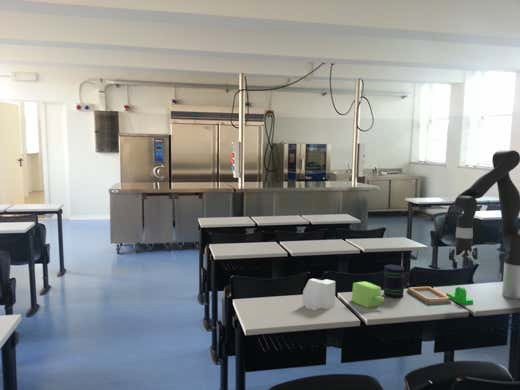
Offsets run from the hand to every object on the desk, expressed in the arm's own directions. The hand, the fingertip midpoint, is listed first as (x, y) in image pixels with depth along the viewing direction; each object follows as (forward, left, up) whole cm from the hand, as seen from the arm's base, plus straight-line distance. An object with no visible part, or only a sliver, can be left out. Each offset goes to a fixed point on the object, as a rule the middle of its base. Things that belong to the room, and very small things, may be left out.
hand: (462, 268), depth 208 cm
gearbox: (+48, -3, -17) cm, 51 cm away
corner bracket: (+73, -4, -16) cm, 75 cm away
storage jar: (+30, -12, -16) cm, 36 cm away
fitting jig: (+14, -6, -16) cm, 22 cm away
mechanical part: (+1, 0, -17) cm, 17 cm away
